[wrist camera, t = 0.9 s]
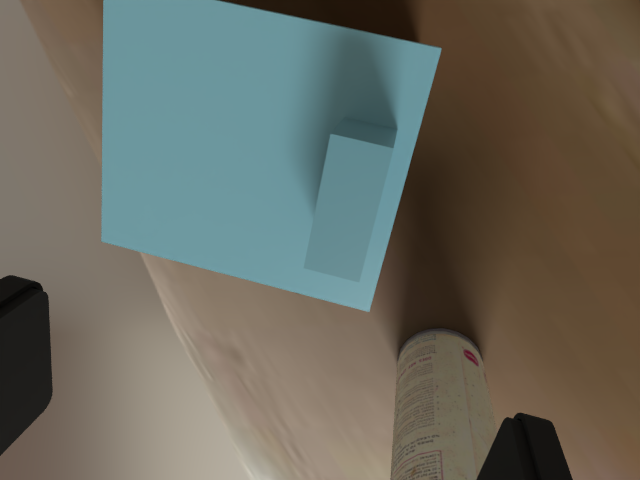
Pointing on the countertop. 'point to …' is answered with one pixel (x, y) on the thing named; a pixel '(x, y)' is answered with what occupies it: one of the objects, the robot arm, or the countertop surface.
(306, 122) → the lid
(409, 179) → the countertop surface
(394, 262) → the countertop surface
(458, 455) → the aerosol can
